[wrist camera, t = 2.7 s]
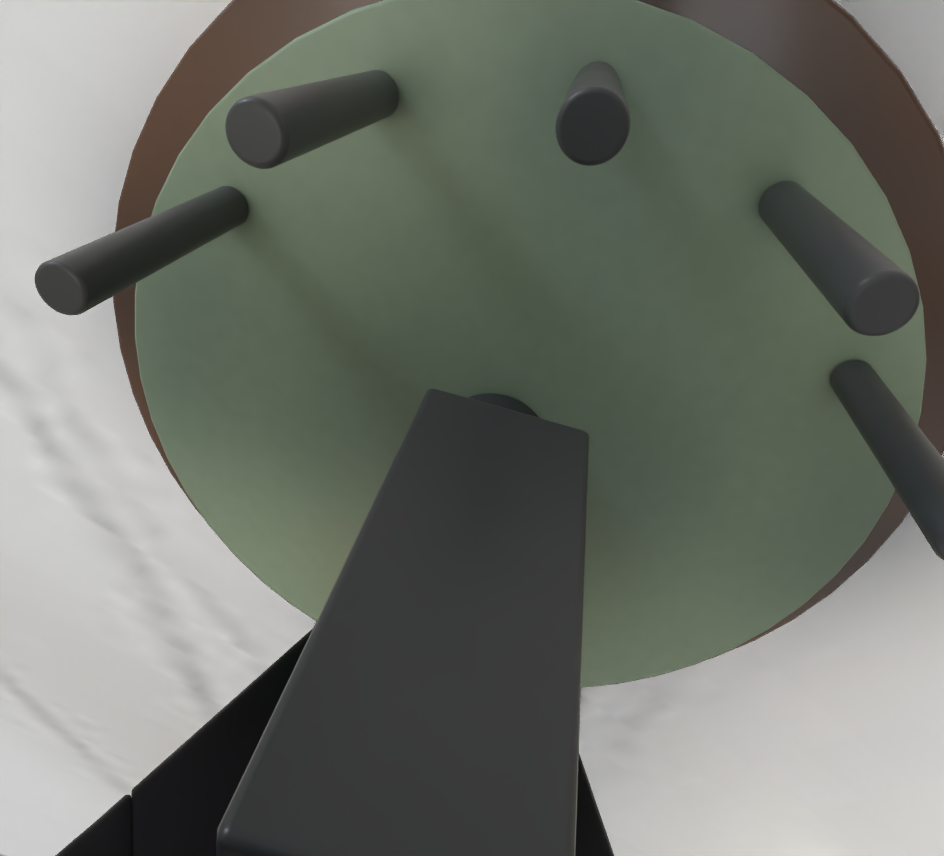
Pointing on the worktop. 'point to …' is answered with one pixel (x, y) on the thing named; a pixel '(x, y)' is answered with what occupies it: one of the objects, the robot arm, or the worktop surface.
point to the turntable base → (708, 3)
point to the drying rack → (512, 389)
